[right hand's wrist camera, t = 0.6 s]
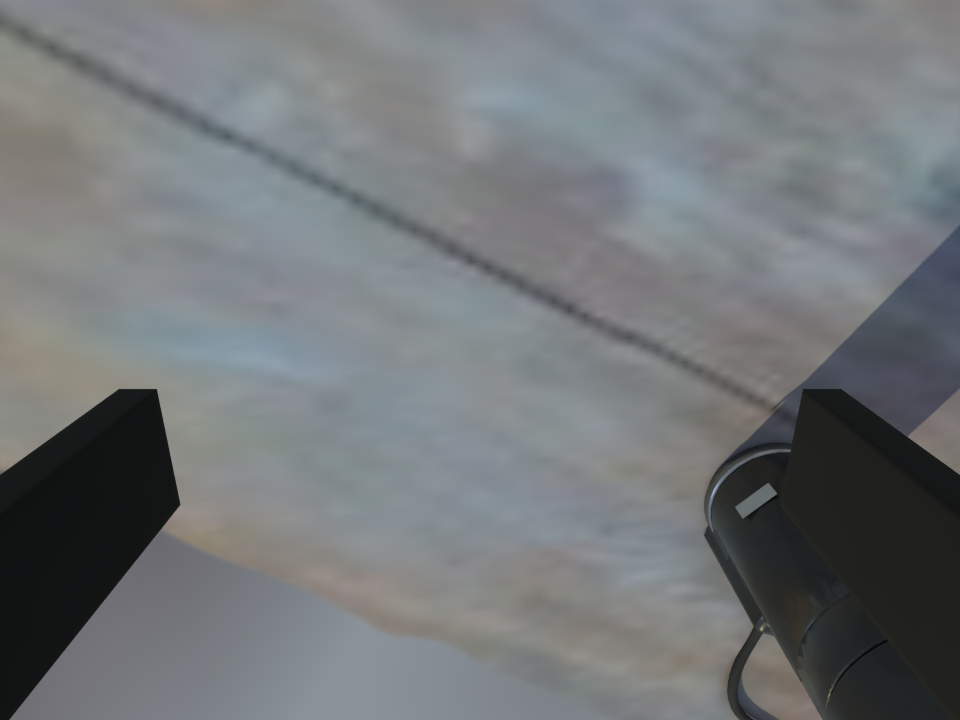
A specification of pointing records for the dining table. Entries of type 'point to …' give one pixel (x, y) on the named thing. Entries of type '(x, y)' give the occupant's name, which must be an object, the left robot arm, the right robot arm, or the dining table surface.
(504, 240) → the dining table surface
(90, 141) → the dining table surface
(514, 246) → the dining table surface
